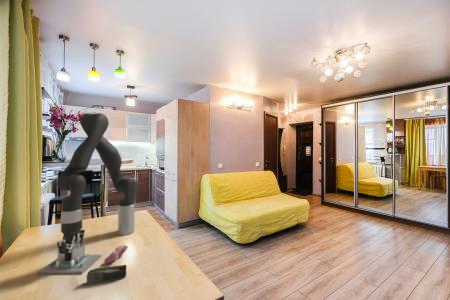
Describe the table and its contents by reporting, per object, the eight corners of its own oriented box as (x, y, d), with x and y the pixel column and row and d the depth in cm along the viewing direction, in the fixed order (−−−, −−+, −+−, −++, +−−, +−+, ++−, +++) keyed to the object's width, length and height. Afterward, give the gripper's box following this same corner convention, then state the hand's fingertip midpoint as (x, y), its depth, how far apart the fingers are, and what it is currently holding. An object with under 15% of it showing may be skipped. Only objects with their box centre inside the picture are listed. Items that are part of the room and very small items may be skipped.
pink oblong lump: (110, 268, 89) (116, 255, 88) (102, 262, 89) (108, 249, 89) (125, 256, 99) (131, 244, 98) (117, 251, 99) (123, 239, 99)
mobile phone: (126, 262, 83) (84, 269, 78) (125, 266, 80) (81, 273, 75) (126, 274, 83) (83, 281, 78) (125, 279, 80) (81, 287, 75)
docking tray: (62, 256, 95) (62, 248, 95) (101, 256, 95) (101, 248, 95) (37, 274, 82) (37, 264, 82) (82, 273, 82) (82, 264, 82)
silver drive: (64, 257, 91) (64, 244, 90) (85, 257, 91) (85, 244, 91) (57, 262, 87) (57, 248, 86) (78, 262, 87) (78, 248, 87)
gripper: (68, 225, 81) (68, 267, 82) (90, 214, 96) (90, 249, 96) (49, 226, 81) (49, 267, 81) (74, 214, 95) (74, 250, 96)
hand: (71, 257), depth 89 cm, fingers closed on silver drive, 4 cm apart
